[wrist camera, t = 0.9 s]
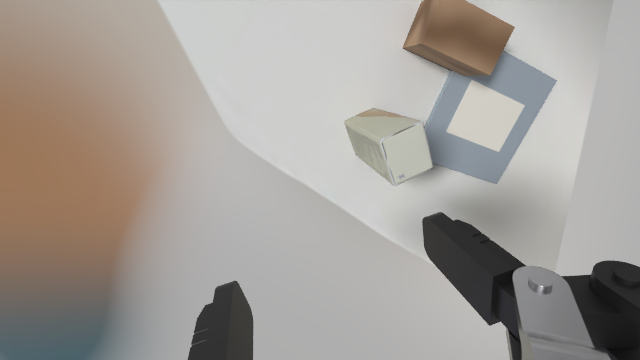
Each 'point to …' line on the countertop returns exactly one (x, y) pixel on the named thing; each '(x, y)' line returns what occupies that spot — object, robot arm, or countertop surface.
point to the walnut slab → (458, 36)
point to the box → (390, 144)
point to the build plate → (485, 117)
